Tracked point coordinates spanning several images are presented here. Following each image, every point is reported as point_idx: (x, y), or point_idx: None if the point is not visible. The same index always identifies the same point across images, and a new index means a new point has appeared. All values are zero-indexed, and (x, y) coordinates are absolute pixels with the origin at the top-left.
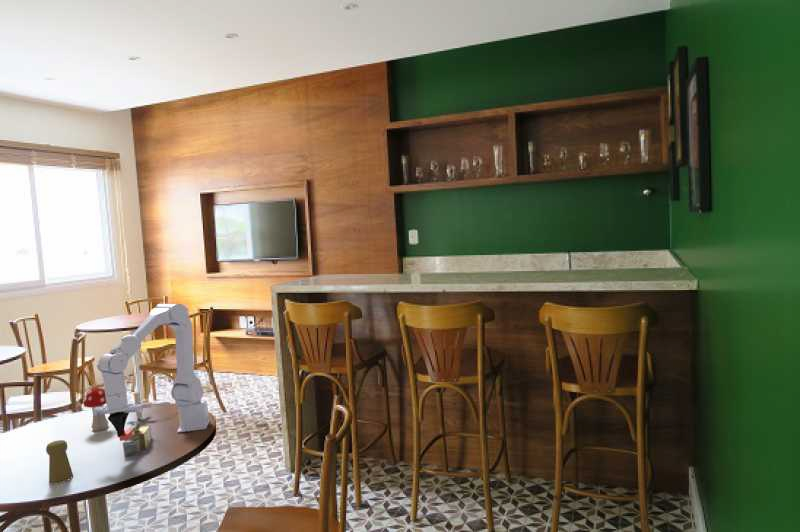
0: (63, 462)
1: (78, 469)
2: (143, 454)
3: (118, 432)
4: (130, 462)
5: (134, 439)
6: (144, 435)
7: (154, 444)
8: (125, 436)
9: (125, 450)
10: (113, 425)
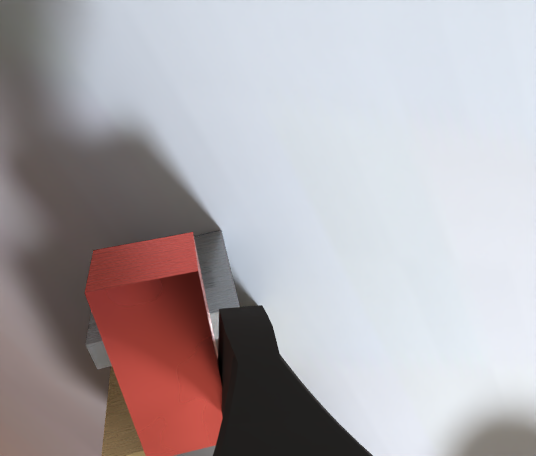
0: None
1: (522, 18)
2: (61, 256)
3: (248, 347)
4: (73, 97)
5: None
6: (107, 443)
7: (96, 406)
8: (100, 282)
9: (212, 260)
10: (351, 442)
